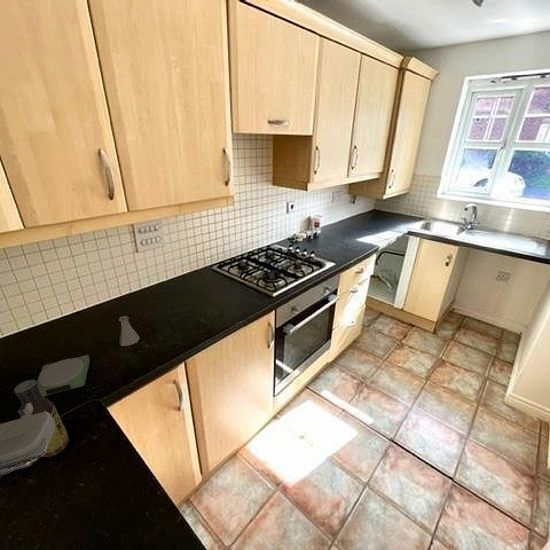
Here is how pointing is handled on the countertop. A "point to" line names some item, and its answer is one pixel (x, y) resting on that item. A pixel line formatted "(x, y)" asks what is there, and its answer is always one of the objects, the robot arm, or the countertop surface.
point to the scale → (63, 375)
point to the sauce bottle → (31, 394)
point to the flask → (127, 333)
